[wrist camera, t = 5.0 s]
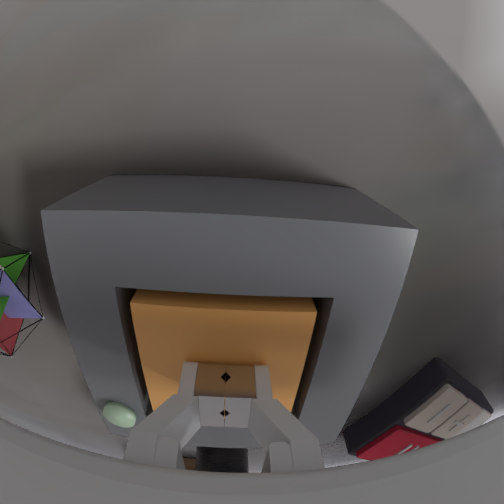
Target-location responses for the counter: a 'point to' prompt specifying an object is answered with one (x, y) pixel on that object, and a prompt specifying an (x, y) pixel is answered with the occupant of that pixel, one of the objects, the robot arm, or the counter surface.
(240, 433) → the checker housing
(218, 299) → the button
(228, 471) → the battery cell
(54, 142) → the counter surface
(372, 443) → the calculator
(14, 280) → the geometric puzzle
